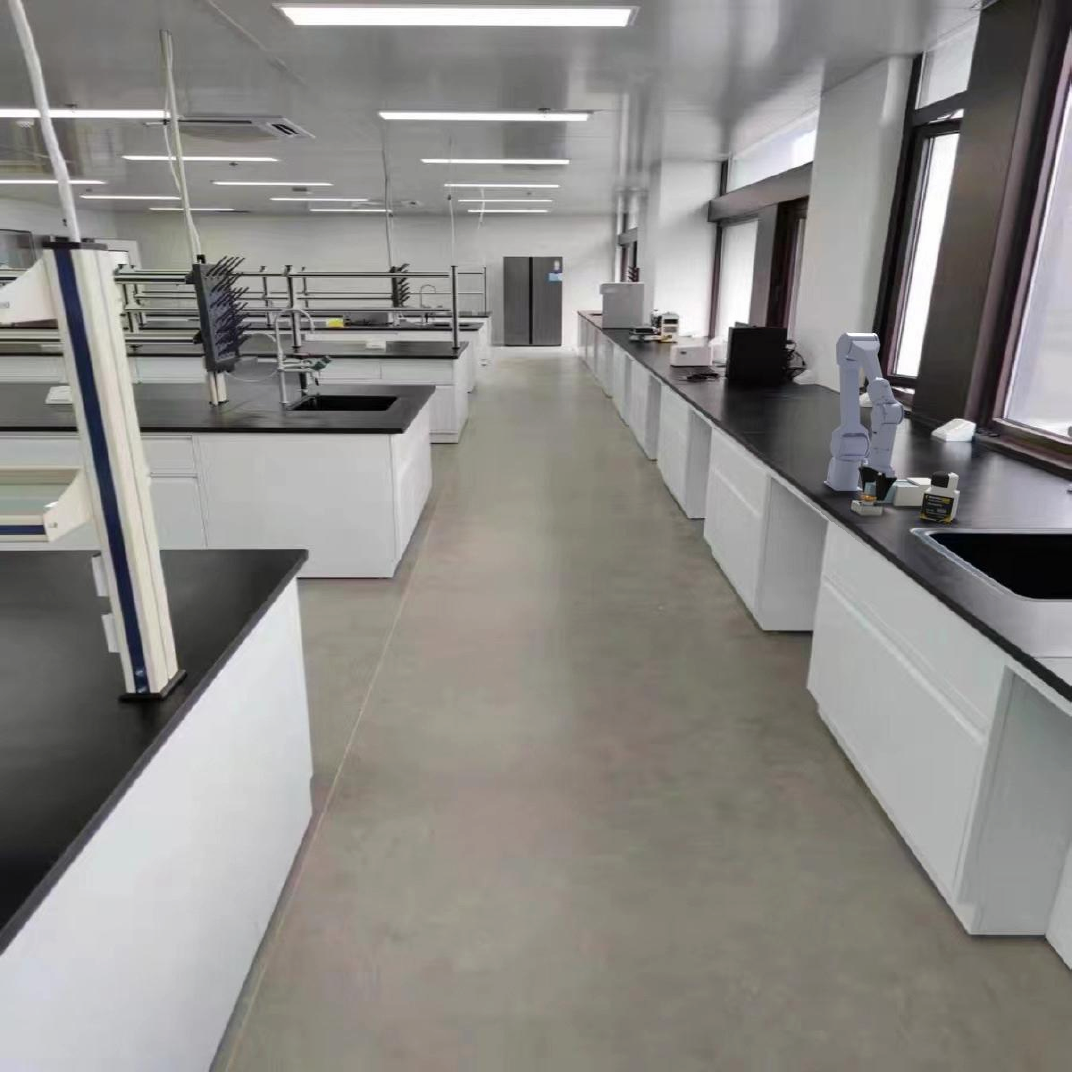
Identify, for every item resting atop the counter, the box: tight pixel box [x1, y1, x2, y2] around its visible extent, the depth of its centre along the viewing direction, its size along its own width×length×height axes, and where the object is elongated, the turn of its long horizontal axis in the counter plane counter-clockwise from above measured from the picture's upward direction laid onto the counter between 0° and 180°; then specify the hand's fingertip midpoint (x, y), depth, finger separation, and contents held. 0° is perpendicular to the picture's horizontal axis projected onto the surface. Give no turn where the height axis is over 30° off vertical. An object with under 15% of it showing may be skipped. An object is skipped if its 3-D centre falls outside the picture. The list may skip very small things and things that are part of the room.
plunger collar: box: [850, 500, 884, 516], centre depth 200 cm, size 6×6×2 cm
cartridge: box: [863, 482, 918, 504], centre depth 210 cm, size 4×17×5 cm, turn 93°
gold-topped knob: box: [860, 493, 877, 506], centre depth 200 cm, size 4×4×4 cm
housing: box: [892, 477, 931, 507], centre depth 210 cm, size 7×12×6 cm, turn 93°
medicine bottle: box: [919, 470, 961, 523], centre depth 196 cm, size 7×7×12 cm
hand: (873, 496), depth 210 cm, fingers open, 7 cm apart
